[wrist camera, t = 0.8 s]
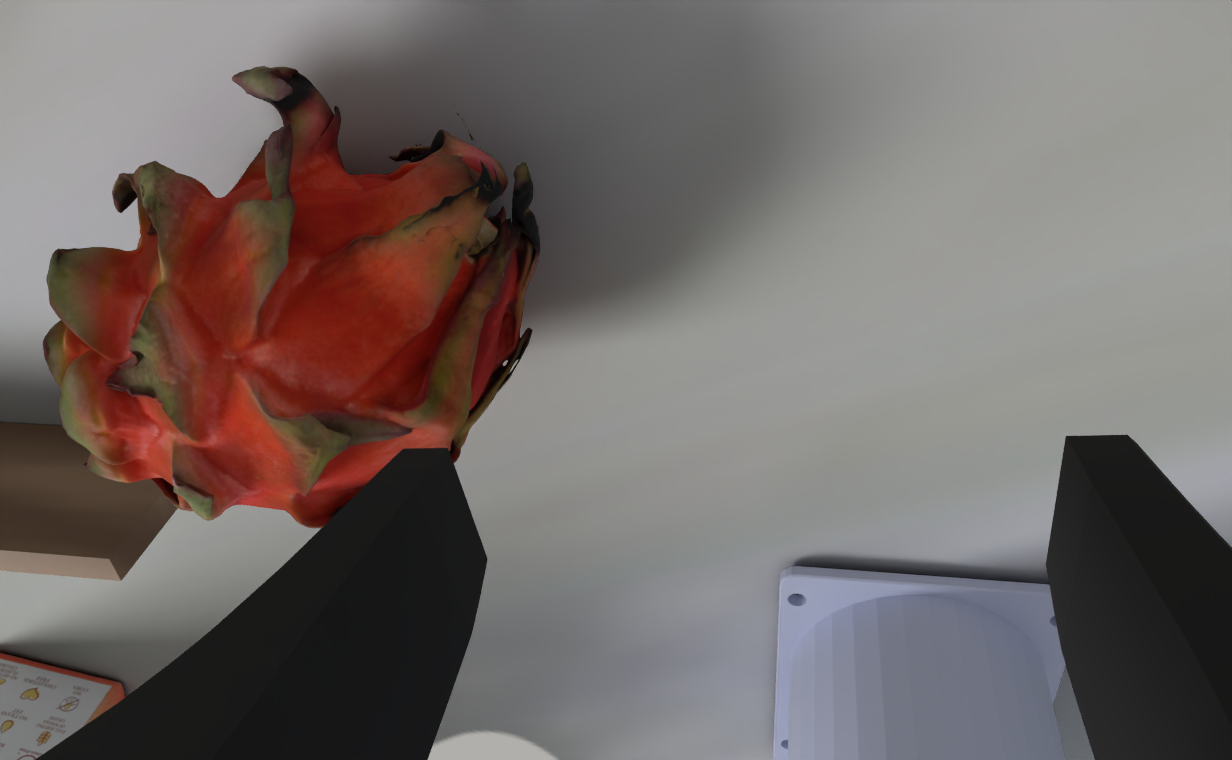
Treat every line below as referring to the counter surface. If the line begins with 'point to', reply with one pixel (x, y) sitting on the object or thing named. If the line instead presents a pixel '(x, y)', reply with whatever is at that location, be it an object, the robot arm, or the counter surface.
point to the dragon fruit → (292, 317)
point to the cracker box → (47, 705)
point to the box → (70, 508)
